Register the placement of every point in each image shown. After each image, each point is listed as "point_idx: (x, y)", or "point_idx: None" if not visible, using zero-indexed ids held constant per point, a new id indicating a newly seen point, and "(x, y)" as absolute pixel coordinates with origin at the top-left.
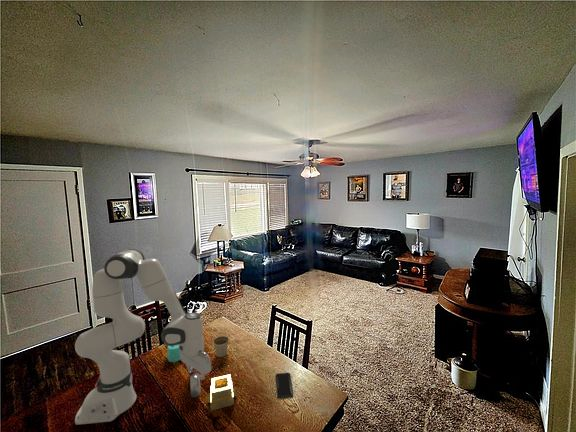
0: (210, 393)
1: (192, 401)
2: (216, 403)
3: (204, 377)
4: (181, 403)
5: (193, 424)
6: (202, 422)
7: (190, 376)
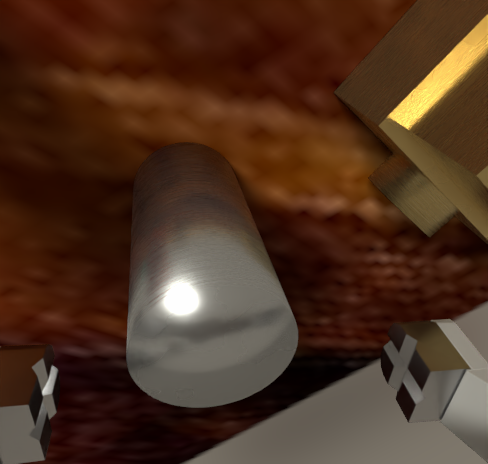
0: (443, 196)
1: None
2: None
3: (455, 330)
4: None
5: None
6: (449, 297)
7: (145, 391)
